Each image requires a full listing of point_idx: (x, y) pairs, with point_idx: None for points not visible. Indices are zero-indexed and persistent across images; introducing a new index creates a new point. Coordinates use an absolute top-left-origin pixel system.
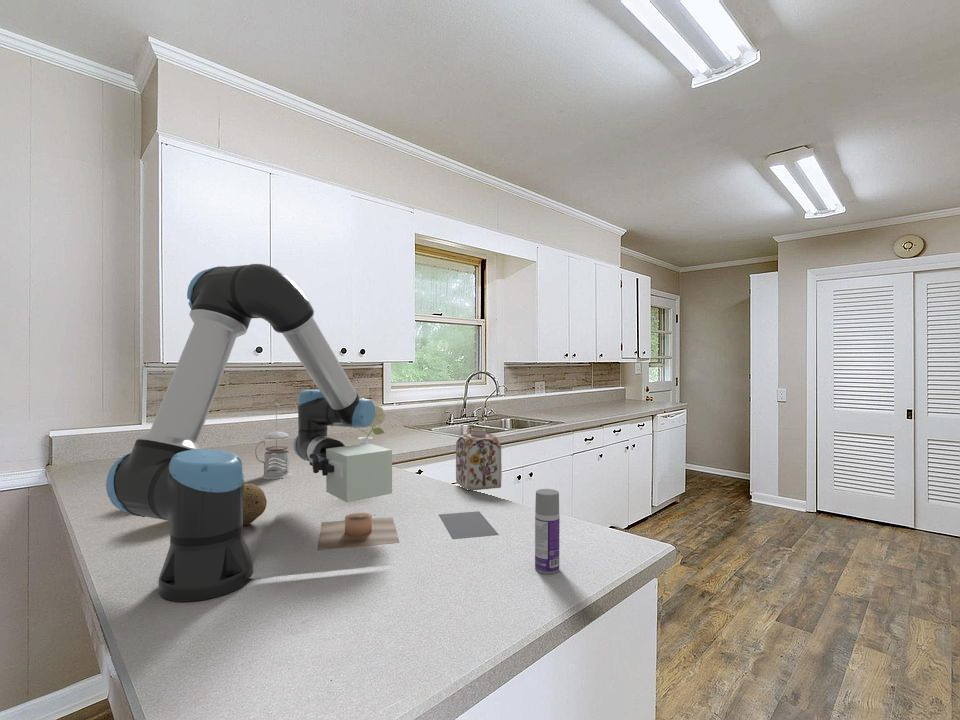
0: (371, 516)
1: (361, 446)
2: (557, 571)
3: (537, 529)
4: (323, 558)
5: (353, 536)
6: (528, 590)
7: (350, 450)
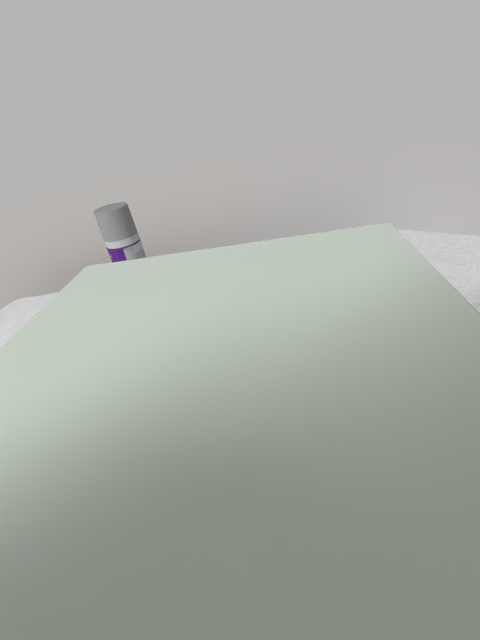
0: None
1: (67, 441)
2: None
3: (142, 254)
4: None
5: None
6: None
7: (302, 320)
